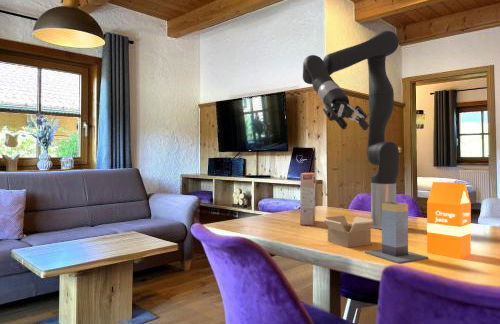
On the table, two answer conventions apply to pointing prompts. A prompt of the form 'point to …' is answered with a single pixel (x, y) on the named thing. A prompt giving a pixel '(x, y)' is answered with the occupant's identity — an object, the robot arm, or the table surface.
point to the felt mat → (399, 259)
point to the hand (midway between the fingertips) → (356, 127)
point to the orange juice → (449, 220)
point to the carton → (349, 231)
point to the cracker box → (307, 199)
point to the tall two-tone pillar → (395, 229)
